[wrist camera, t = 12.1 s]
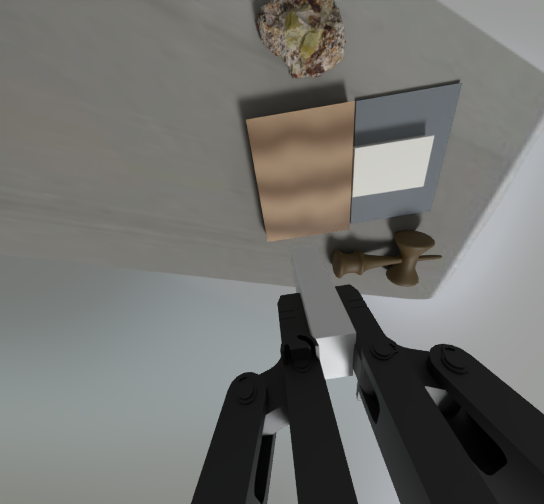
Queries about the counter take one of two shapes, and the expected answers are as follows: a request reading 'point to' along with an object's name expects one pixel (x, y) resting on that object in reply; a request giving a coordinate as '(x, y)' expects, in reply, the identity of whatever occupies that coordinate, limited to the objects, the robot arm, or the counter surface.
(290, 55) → the mineral rock
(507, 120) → the counter surface
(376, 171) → the stone tile
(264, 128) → the tan wooden board
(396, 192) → the mat
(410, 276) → the kendama
